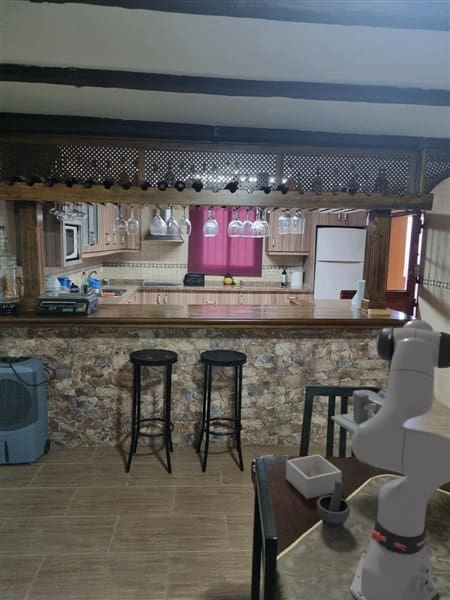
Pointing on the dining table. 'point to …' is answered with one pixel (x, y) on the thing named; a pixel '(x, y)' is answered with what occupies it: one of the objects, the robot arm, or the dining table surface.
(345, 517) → the mortar and pestle
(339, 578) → the dining table surface
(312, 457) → the tub
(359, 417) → the lid
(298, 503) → the dining table surface
